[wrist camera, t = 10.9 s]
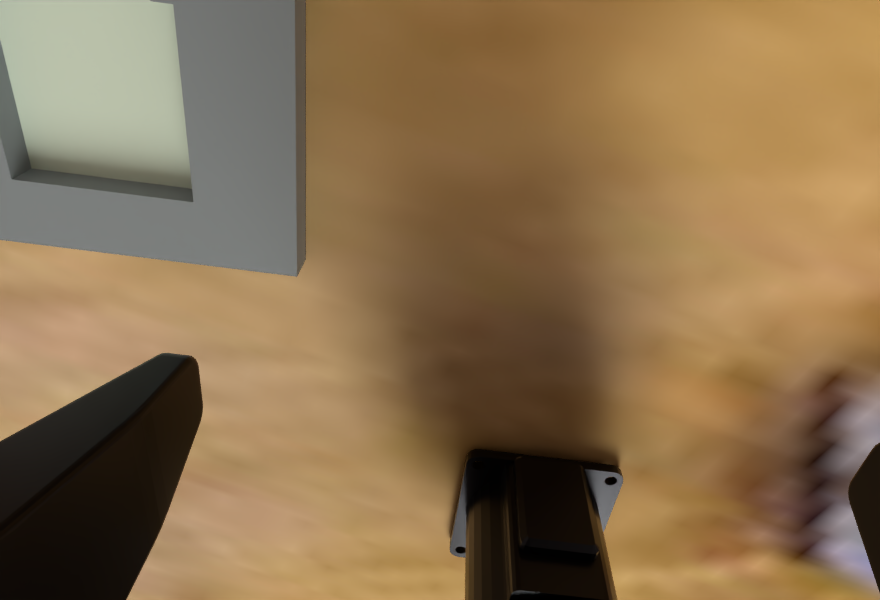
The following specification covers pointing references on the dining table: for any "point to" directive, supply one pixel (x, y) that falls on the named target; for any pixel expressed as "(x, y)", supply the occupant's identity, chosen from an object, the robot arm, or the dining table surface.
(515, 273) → the dining table surface
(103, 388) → the robot arm
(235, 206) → the keyhole plate
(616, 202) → the dining table surface
